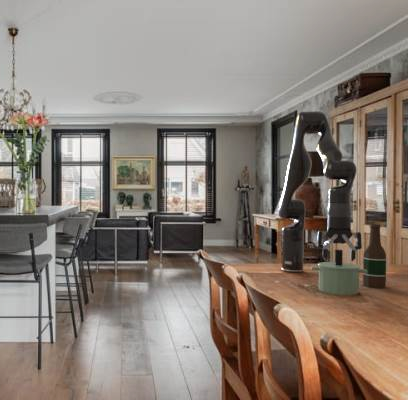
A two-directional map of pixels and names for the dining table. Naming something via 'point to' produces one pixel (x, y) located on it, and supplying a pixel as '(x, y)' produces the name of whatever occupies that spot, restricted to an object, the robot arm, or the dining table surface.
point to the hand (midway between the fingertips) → (338, 260)
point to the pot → (339, 280)
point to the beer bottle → (374, 260)
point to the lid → (338, 262)
